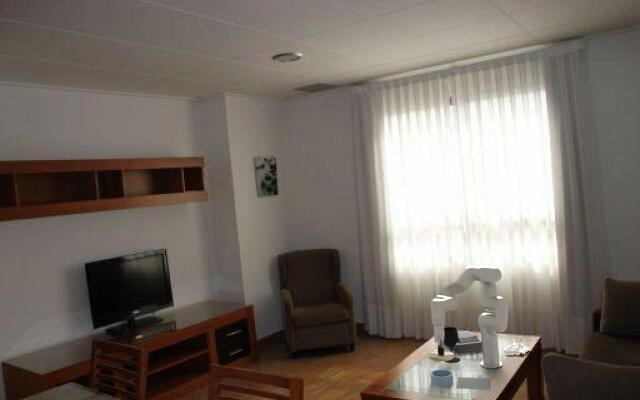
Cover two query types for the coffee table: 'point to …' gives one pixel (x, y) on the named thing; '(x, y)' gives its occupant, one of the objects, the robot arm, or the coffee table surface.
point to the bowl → (442, 378)
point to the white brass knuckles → (516, 348)
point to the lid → (441, 356)
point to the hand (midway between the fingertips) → (441, 353)
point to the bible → (467, 343)
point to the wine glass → (451, 340)
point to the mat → (474, 383)
